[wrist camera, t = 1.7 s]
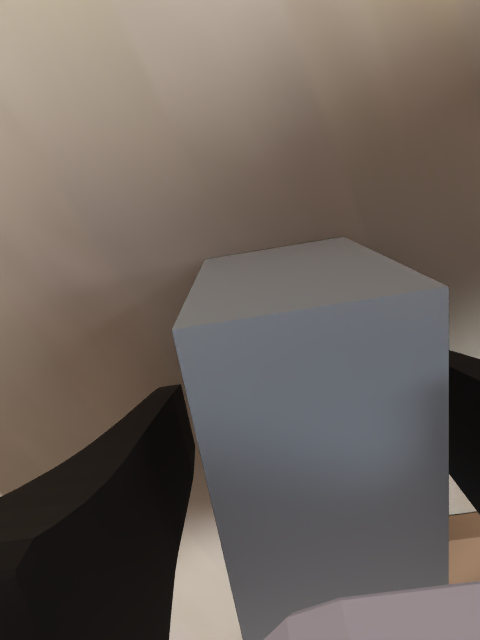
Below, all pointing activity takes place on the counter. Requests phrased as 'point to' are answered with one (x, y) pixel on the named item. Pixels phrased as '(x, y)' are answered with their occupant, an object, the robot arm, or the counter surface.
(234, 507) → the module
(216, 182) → the counter surface
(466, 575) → the board
